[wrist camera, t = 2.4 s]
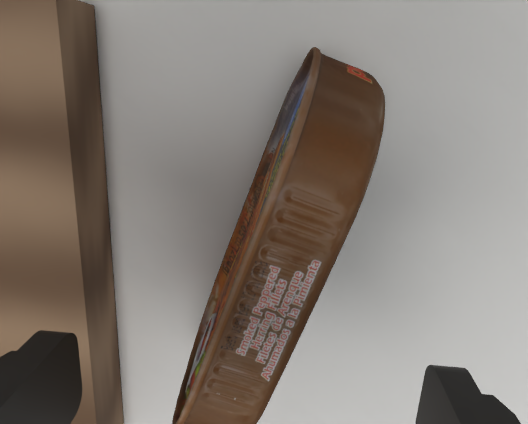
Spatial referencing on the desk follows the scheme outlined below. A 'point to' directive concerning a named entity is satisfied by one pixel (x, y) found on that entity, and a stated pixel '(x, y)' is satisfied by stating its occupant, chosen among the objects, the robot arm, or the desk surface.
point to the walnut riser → (56, 194)
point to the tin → (284, 241)
